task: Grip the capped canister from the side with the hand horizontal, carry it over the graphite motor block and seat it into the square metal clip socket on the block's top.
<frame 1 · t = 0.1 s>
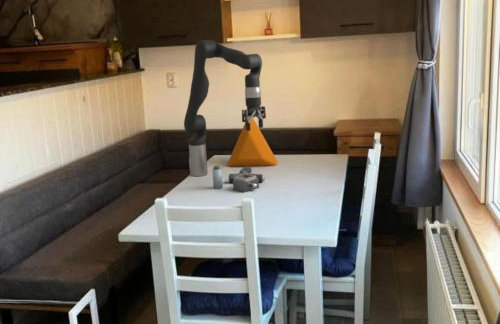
hand: (254, 129, 272), 29 cm above the table, fingers open, 8 cm apart
capped canister: (218, 188, 280), on the table
power drill: (250, 179, 294), on the table
motor block: (246, 188, 275), on the table
decorative object: (252, 165, 326), on the table
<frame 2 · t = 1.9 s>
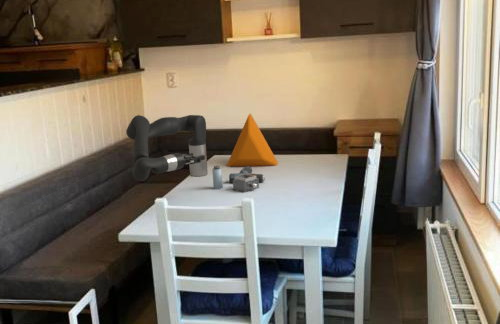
hand: (198, 156, 268), 19 cm above the table, fingers open, 8 cm apart
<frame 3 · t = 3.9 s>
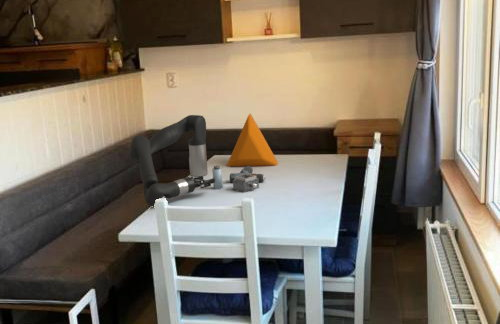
hand: (208, 179, 274), 6 cm above the table, fingers open, 8 cm apart
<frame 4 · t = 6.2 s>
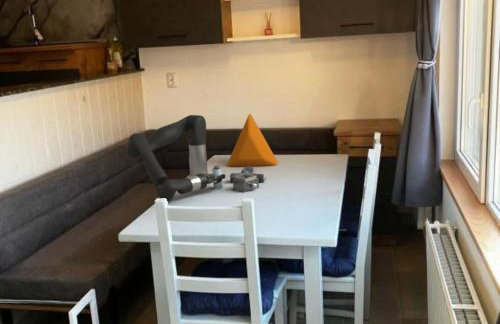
hand: (221, 175, 280), 6 cm above the table, fingers closed on capped canister, 4 cm apart
capped canister: (218, 188, 280), on the table, touching gripper
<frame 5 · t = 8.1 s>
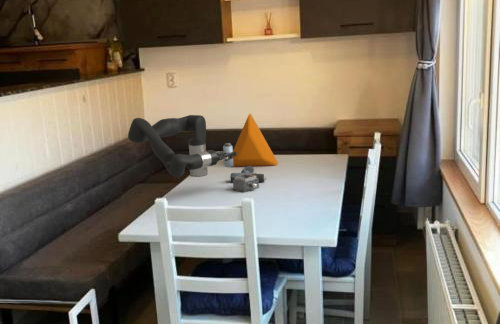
hand: (232, 153, 275), 18 cm above the table, fingers closed on capped canister, 4 cm apart
capped canister: (228, 165, 274), point 12 cm above the table, touching gripper
when the fingers open (12 cm above the table, at t = 10.3 s): capped canister drops 1 cm, resting on motor block.
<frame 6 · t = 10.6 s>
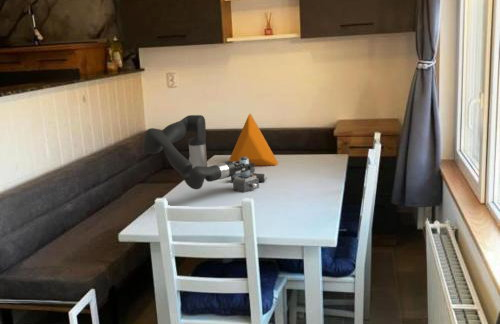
hand: (247, 163, 274), 13 cm above the table, fingers open, 7 cm apart
capped canister: (245, 179, 274), point 5 cm above the table, touching motor block
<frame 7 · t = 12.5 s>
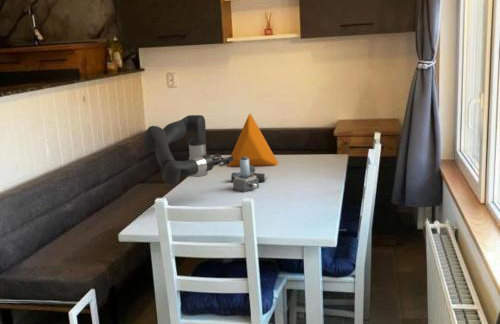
hand: (226, 157, 263), 18 cm above the table, fingers open, 8 cm apart
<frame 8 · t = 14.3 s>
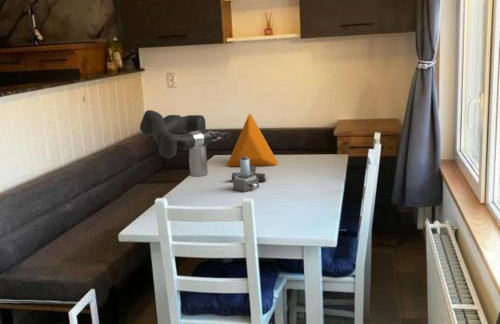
hand: (224, 133, 260), 30 cm above the table, fingers open, 8 cm apart
at the end: capped canister 0.1 cm off-centre on the motor block, point 5.0 cm above the motor block's base; capped canister tilted 1°; the gripper is holding nothing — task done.
